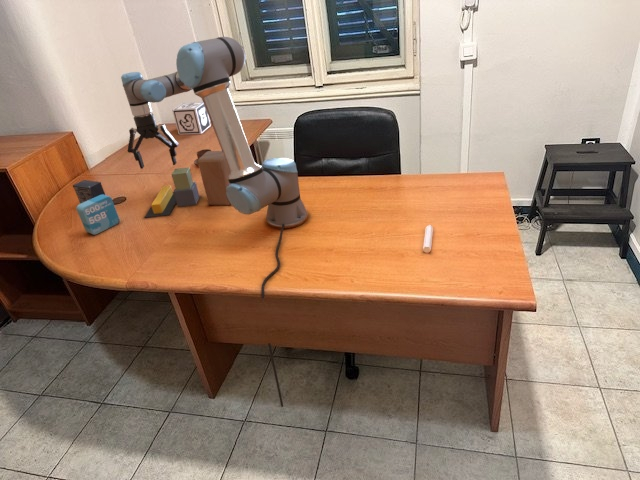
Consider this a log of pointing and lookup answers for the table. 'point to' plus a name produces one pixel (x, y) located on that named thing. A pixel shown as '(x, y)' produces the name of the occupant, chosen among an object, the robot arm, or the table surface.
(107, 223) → the data package
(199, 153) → the cup and saucer
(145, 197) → the table surface
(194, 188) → the tower
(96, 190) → the small box
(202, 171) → the block
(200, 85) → the robot arm
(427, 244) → the marker
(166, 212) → the mat
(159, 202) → the bar
